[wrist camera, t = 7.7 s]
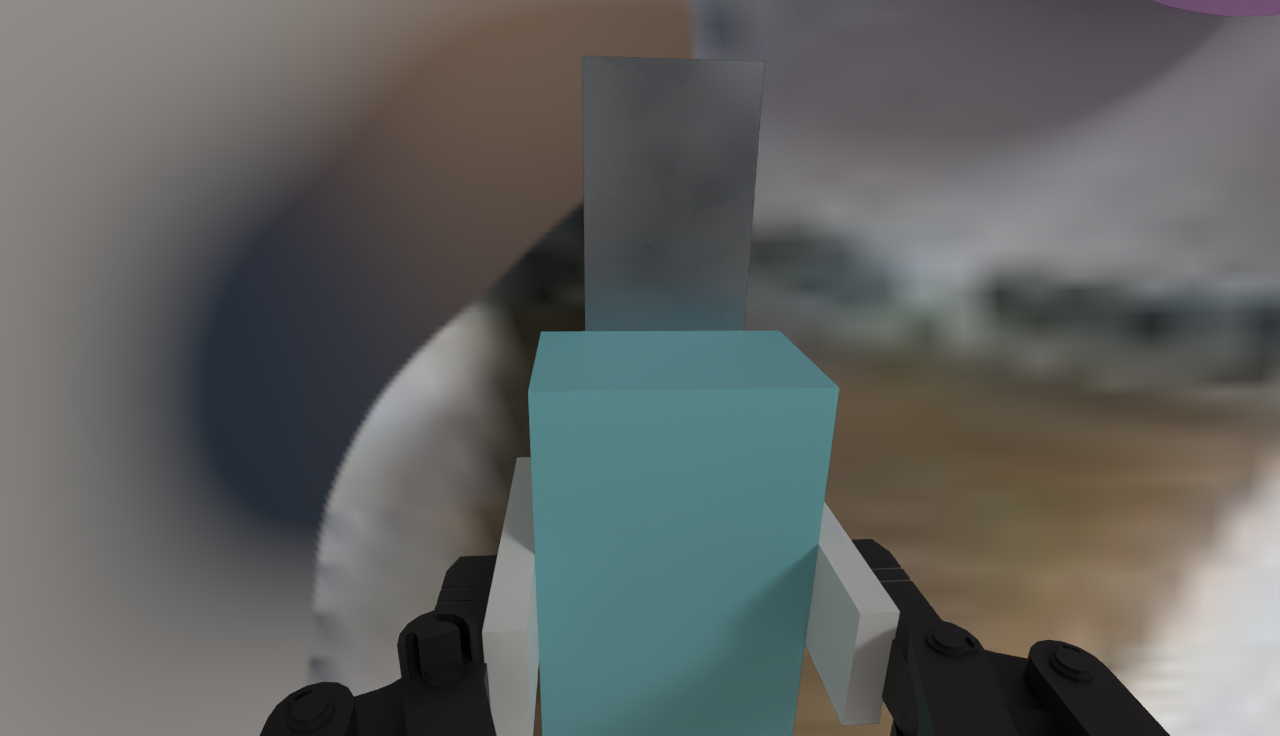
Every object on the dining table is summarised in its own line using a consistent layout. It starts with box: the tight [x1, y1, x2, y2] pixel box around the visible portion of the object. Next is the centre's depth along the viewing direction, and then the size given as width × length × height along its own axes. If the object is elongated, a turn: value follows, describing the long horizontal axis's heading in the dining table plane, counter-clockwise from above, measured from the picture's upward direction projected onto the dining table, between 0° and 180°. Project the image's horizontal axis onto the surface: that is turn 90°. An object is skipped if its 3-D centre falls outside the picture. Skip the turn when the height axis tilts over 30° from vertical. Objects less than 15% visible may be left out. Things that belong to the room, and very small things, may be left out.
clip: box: [528, 331, 840, 736], centre depth 17 cm, size 10×6×8 cm, turn 179°
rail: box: [582, 56, 764, 331], centre depth 19 cm, size 22×4×4 cm, turn 179°
